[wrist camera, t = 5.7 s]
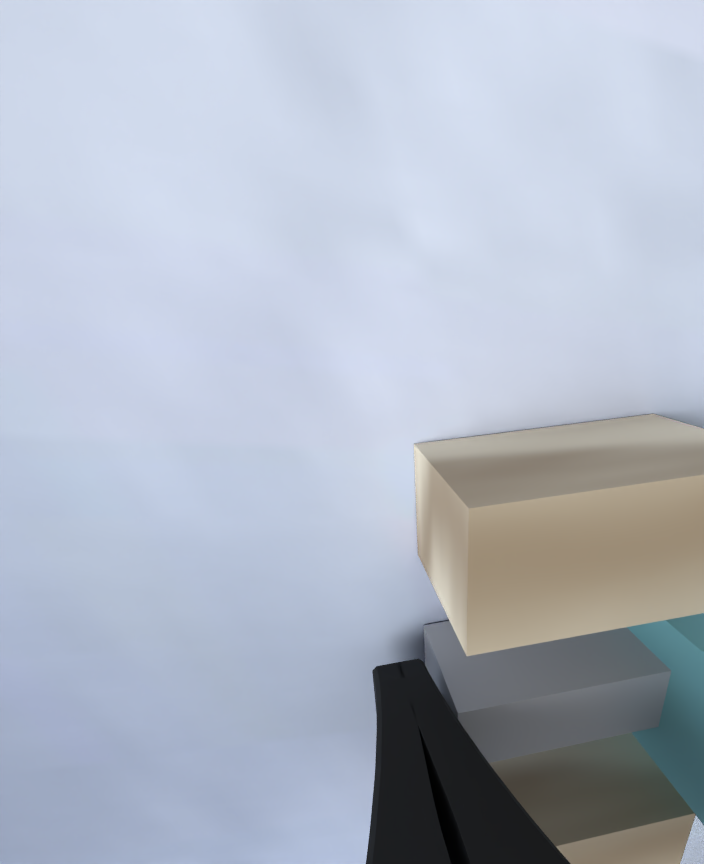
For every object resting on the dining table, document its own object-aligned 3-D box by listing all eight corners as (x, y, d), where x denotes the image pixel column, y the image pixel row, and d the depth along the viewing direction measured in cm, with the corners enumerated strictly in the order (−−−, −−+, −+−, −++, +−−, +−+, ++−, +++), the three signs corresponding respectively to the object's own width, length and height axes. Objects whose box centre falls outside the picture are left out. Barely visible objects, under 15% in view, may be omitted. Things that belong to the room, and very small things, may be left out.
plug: (728, 642, 12) (999, 853, 7) (426, 701, 11) (516, 984, 7) (759, 536, 11) (1108, 707, 6) (422, 592, 10) (530, 845, 5)
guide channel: (593, 759, 13) (673, 882, 10) (426, 795, 13) (462, 936, 10) (653, 413, 9) (809, 459, 6) (413, 444, 9) (468, 508, 6)
